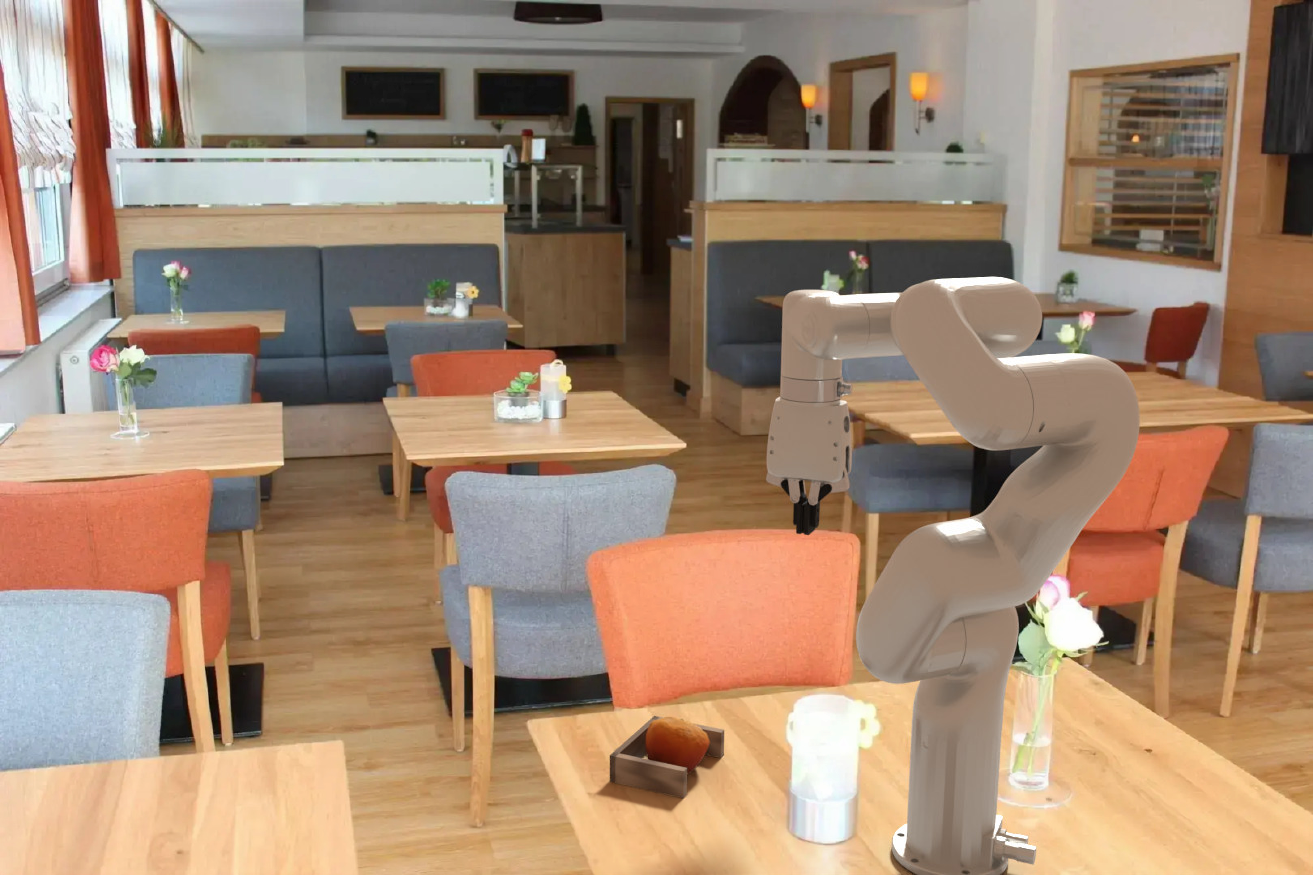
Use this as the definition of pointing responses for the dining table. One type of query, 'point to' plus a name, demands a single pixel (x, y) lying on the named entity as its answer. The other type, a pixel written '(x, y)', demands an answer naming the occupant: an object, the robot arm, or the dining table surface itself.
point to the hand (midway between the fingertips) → (805, 531)
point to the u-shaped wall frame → (656, 763)
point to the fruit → (676, 742)
